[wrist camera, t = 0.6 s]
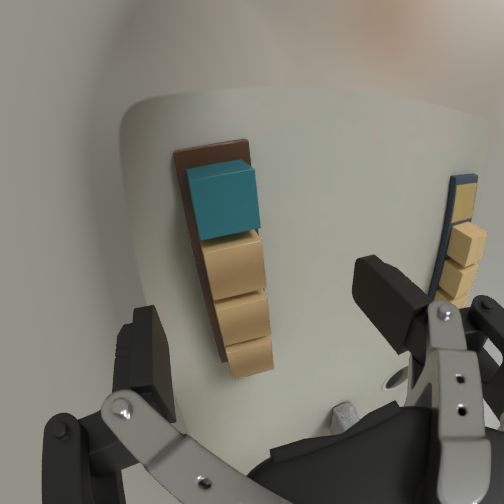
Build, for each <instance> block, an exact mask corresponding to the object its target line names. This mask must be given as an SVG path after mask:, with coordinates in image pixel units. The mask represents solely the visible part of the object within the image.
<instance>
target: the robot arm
mask: <svg viewBox="0 0 504 504" xmlns="http://www.w3.org/2000/svg"><path fill="white" fill-rule="evenodd" d="M352 295H353V298H354V301H355V303H356V304H357V305H358V306H359V307H360V309H361V310H362V311H363V312H364V313H365V315H366V316H367V317H368V318H369V319H370V321H371V322H372V323H373V324H374V325H375V327H376V328H377V329H378V330H379V332H380V333H381V334H382V335H383V336H384V338H385V339H386V340H387V341H388V343H389V344H390V345H391V346H392V348H393V349H394V350H395V351H396V353H397V354H398V355H399V354H402V353H404V352H406V351H408V350H409V351H410V353H411V354H410V357H409V370H408V389H407V397H406V401H405V404H404V407H399V405H398V404H397V402H396V401H393V402H391V403H389V404H387V405H385V406H383V407H381V408H378V409H376V410H374V411H372V412H370V413H368V414H367V415H366V416H364V417H363V418H362V419H361V420H359V421H358V422H357V423H355V424H354V425H353V426H351V427H350V428H349V429H347V430H346V431H345V432H343V433H341V434H337V435H330V436H323V437H316V438H307V439H302V440H299V441H296V442H293V443H290V444H287V445H283V446H280V447H276V448H273V449H270V458H268V459H266V460H264V461H263V462H261V463H260V464H259V465H257V466H256V467H255V468H254V469H253V470H251V471H250V472H249V473H248V475H247V476H245V475H244V474H242V473H240V472H239V471H237V470H236V469H234V468H233V467H231V466H230V465H229V464H227V463H226V462H224V461H223V460H221V459H220V458H219V457H217V456H216V455H214V454H213V453H212V452H210V451H209V450H208V449H206V448H205V447H204V446H202V445H201V444H200V443H198V442H197V441H196V440H195V439H193V438H192V437H190V436H189V435H187V434H182V433H181V432H179V431H178V430H177V429H176V428H175V427H174V426H172V425H171V424H170V423H175V422H176V415H175V406H174V398H173V388H172V378H171V367H170V355H169V346H168V341H167V338H166V335H165V332H164V329H163V327H162V324H161V321H160V319H159V316H158V313H157V311H156V308H155V306H154V305H150V306H145V307H140V308H135V309H134V312H133V323H130V324H125V325H123V327H122V329H121V330H120V332H119V334H118V336H117V344H116V347H117V349H116V353H115V356H116V358H115V364H114V375H113V389H112V394H110V395H109V396H108V397H107V398H106V399H105V401H104V402H103V404H102V407H101V410H100V411H98V412H96V413H94V414H91V415H89V416H86V417H84V418H81V419H78V420H77V419H76V418H75V417H74V416H72V415H71V414H69V413H60V414H57V415H55V416H53V417H52V418H51V419H50V420H49V421H48V422H47V424H46V426H45V429H44V437H43V453H42V504H126V501H125V494H124V488H123V481H122V473H121V470H122V469H125V468H127V467H130V466H132V465H135V464H137V463H141V464H142V465H143V466H144V467H145V469H146V471H147V472H148V473H149V474H150V475H151V476H152V477H153V478H154V479H155V480H156V481H157V482H159V484H161V485H162V486H163V487H164V488H165V489H166V490H167V491H168V492H169V493H170V494H172V495H173V496H174V497H175V498H176V499H177V500H178V501H180V502H181V503H182V504H504V308H502V307H501V306H500V305H499V304H498V303H497V302H496V301H495V300H494V299H492V298H490V297H488V296H484V295H479V296H476V297H475V298H474V299H473V301H472V304H471V307H467V308H460V309H458V308H457V307H456V306H455V305H453V304H452V303H450V302H447V301H443V300H437V301H433V300H432V299H431V298H430V297H429V296H428V295H427V294H425V293H424V292H423V291H422V290H421V289H420V288H419V287H418V286H417V285H415V284H414V283H413V282H411V280H410V279H409V278H408V277H405V275H404V274H403V273H402V272H401V271H400V270H398V269H397V268H395V267H393V266H391V265H389V264H387V263H384V262H383V261H382V260H380V259H379V258H378V257H377V256H376V255H369V256H365V257H362V258H358V259H357V260H356V262H355V268H354V277H353V285H352ZM488 338H489V339H490V340H491V341H492V343H493V344H494V345H495V346H496V347H497V348H498V349H499V351H500V352H501V353H502V356H503V362H502V364H501V366H500V367H499V365H498V364H497V363H496V362H495V361H494V359H493V358H492V357H491V356H490V355H489V354H488V352H487V351H486V350H485V349H484V348H483V346H484V344H485V342H486V340H487V339H488ZM483 398H484V400H485V401H486V403H487V404H488V405H489V406H490V408H491V410H492V411H493V412H494V414H495V415H496V417H497V418H498V420H499V421H500V425H501V426H500V427H499V428H498V430H496V429H492V428H489V427H485V422H484V406H483Z"/></svg>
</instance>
